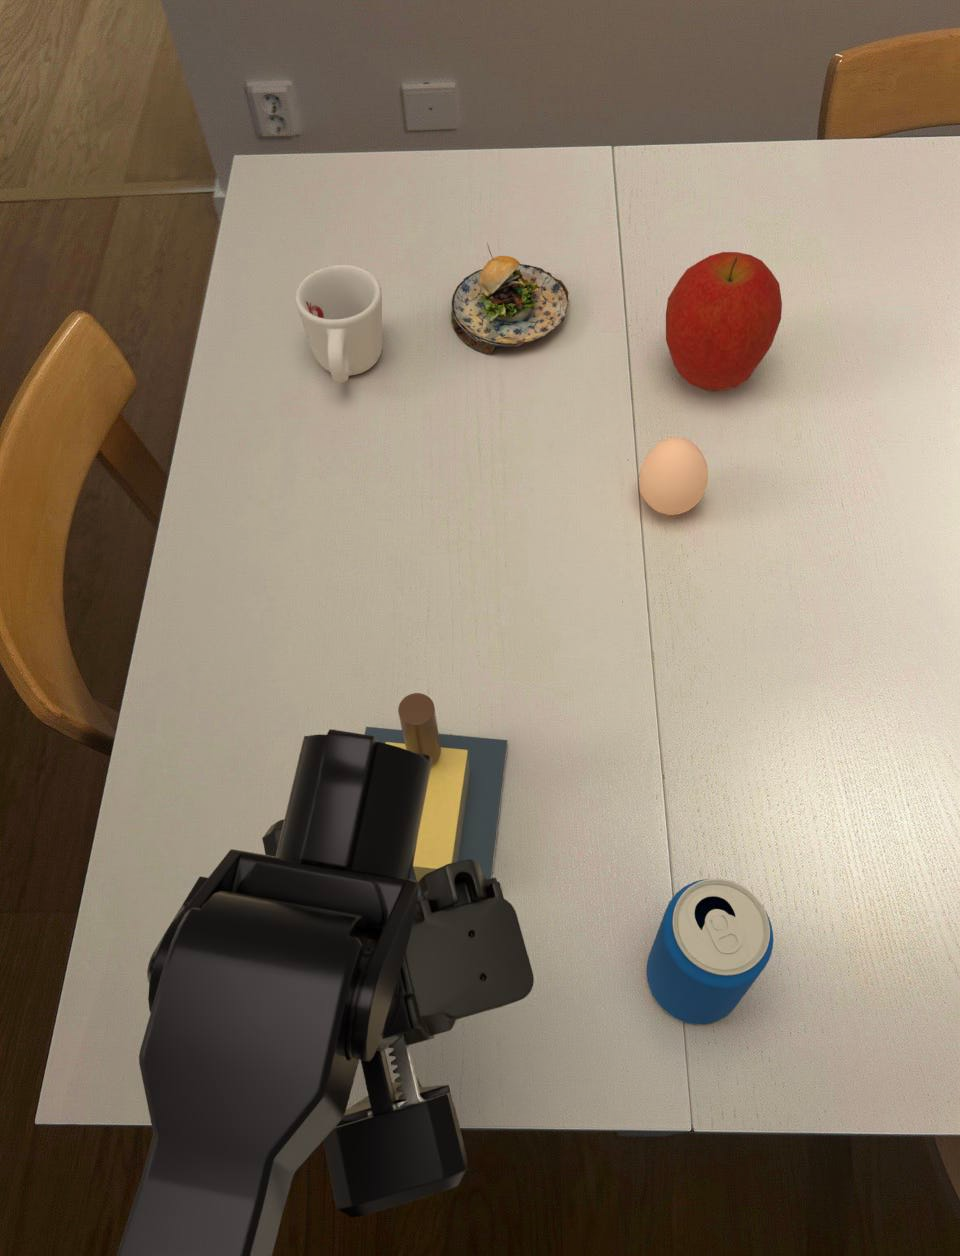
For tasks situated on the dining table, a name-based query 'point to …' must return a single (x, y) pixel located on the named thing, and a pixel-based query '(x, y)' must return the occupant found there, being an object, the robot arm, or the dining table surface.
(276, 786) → the dining table surface
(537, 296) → the burger
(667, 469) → the egg
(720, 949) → the beverage can
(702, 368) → the apple
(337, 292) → the cup
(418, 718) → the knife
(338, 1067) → the robot arm
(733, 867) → the dining table surface
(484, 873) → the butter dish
